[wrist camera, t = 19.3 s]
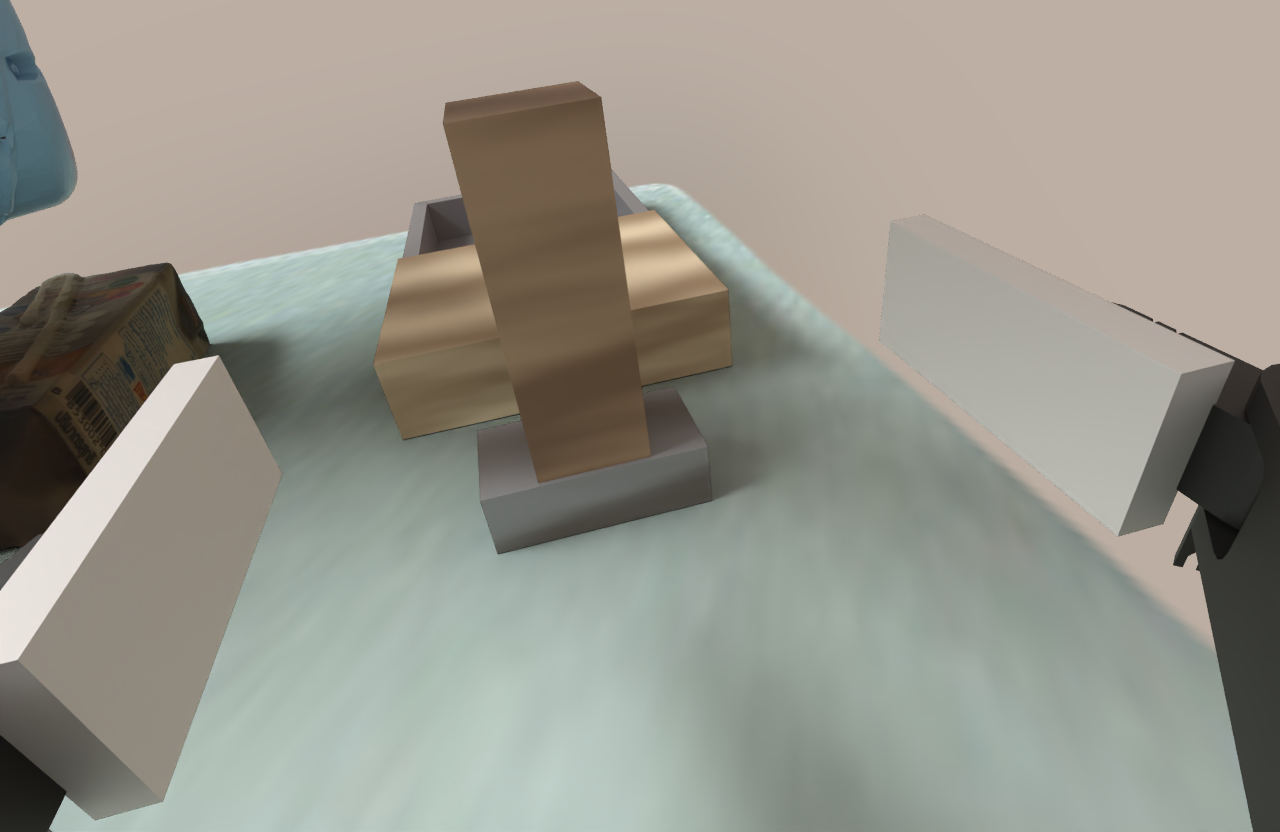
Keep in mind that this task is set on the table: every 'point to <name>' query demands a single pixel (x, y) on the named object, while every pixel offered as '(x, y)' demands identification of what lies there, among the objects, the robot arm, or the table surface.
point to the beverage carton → (81, 380)
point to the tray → (450, 228)
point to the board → (470, 344)
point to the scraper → (564, 326)
